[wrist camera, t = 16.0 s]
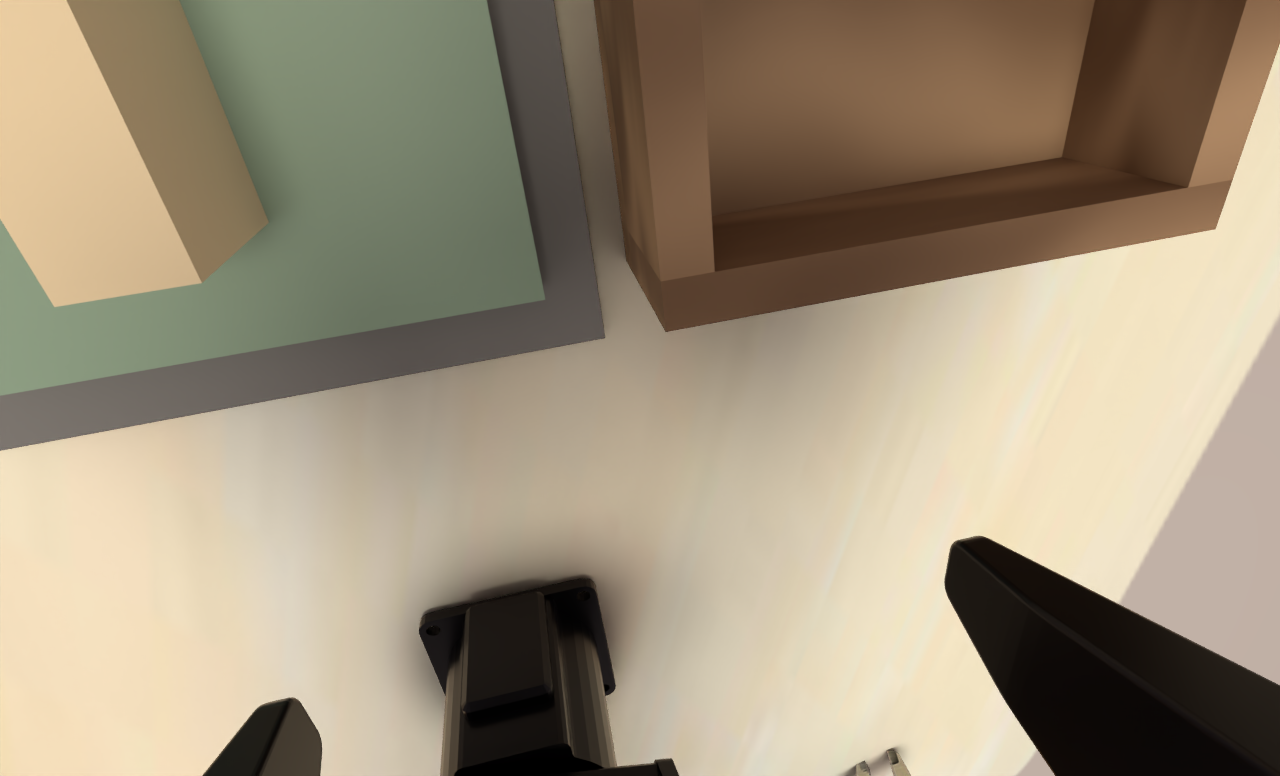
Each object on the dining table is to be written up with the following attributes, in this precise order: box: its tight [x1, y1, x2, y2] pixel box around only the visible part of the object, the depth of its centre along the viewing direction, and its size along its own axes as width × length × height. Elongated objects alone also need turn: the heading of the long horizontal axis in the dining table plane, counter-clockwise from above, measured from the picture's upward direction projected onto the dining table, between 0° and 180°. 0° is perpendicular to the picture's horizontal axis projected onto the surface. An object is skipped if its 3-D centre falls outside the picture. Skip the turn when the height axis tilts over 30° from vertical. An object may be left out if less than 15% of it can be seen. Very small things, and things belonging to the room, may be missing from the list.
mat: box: [0, 0, 605, 451], centre depth 14 cm, size 16×17×1 cm
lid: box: [0, 0, 545, 396], centre depth 12 cm, size 12×14×5 cm
